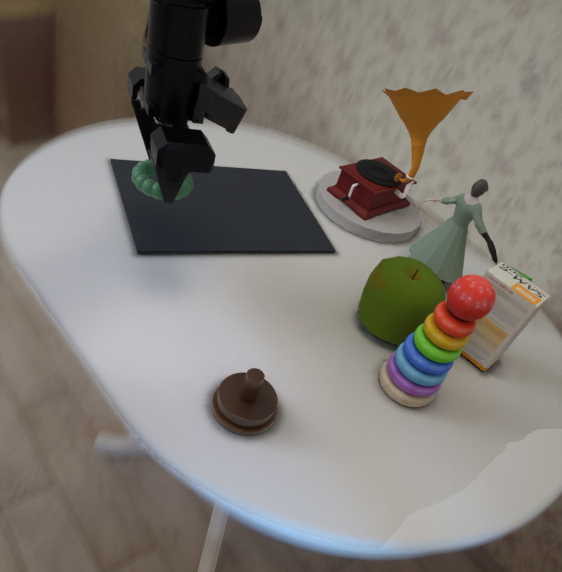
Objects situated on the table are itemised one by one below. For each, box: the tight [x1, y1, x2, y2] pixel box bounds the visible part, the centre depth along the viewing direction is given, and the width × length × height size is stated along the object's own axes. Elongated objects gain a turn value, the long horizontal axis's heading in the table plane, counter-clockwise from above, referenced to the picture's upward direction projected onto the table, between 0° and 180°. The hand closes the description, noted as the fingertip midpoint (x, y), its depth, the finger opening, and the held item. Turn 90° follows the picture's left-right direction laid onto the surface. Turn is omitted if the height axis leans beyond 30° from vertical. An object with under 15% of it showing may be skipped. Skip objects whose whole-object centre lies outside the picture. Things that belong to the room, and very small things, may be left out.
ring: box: [132, 158, 193, 200], centre depth 64 cm, size 8×8×2 cm
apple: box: [357, 255, 447, 346], centre depth 72 cm, size 11×11×11 cm
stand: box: [210, 367, 279, 436], centre depth 57 cm, size 8×8×6 cm
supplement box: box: [460, 261, 552, 372], centre depth 73 cm, size 8×5×13 cm, turn 43°
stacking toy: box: [378, 274, 496, 408], centre depth 62 cm, size 8×8×19 cm
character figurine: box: [408, 178, 499, 283], centre depth 81 cm, size 16×8×18 cm, turn 42°
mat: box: [110, 158, 336, 255], centre depth 85 cm, size 32×24×1 cm
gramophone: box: [315, 87, 474, 244], centre depth 88 cm, size 20×20×25 cm
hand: (161, 185), depth 65 cm, fingers closed on ring, 7 cm apart
